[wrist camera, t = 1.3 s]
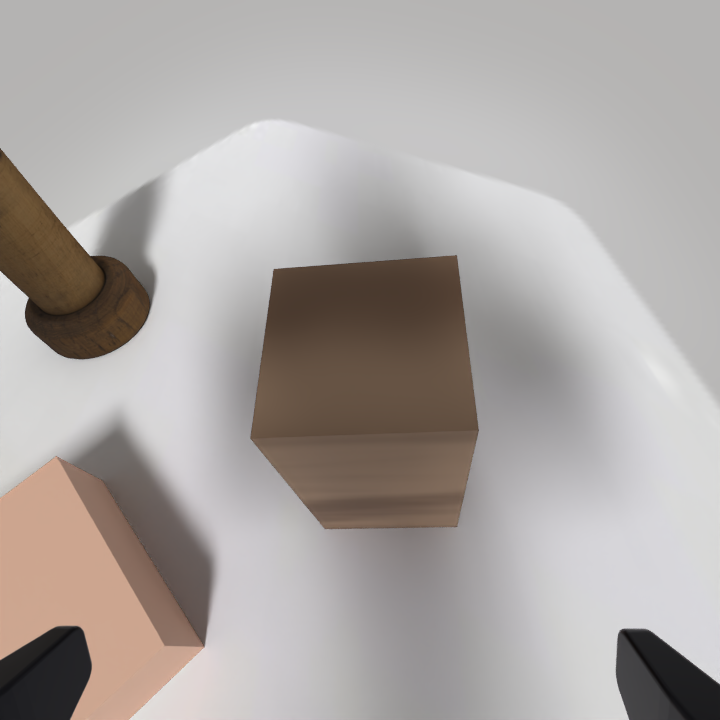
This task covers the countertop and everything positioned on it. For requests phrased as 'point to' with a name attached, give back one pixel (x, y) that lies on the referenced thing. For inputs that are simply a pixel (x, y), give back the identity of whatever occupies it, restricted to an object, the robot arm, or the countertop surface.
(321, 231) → the countertop surface
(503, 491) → the countertop surface
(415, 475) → the walnut block
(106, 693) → the terracotta block
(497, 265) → the countertop surface
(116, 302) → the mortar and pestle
